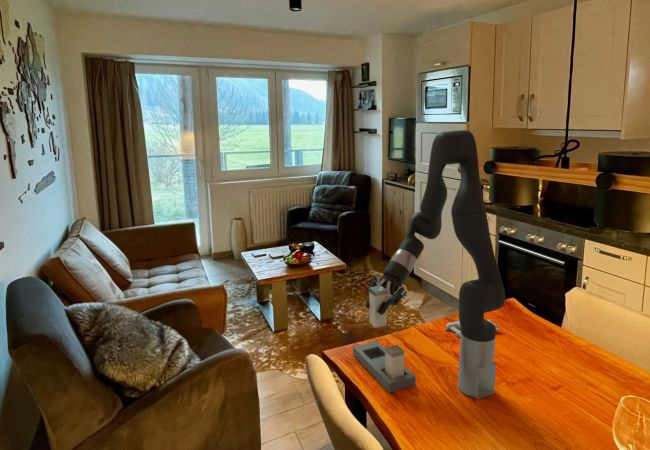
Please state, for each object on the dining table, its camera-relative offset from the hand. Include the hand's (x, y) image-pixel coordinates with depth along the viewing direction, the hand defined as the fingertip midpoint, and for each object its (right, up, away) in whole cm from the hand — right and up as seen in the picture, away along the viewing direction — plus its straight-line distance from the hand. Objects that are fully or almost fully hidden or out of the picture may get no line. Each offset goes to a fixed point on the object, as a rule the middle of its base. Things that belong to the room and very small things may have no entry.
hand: (373, 310), depth 136 cm
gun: (+39, -12, +24) cm, 47 cm away
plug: (+2, -5, +2) cm, 6 cm away
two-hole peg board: (+3, -18, 0) cm, 19 cm away
